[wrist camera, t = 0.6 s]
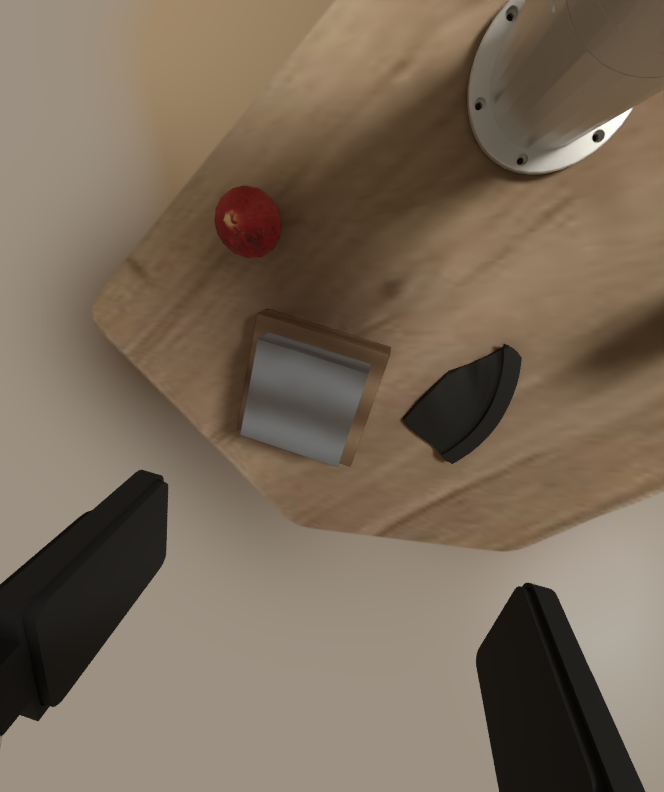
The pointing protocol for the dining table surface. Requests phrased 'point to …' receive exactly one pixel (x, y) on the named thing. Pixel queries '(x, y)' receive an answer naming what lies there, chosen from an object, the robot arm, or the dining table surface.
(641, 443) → the dining table surface
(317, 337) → the wood and metal stack
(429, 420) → the curved wedge
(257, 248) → the onion
